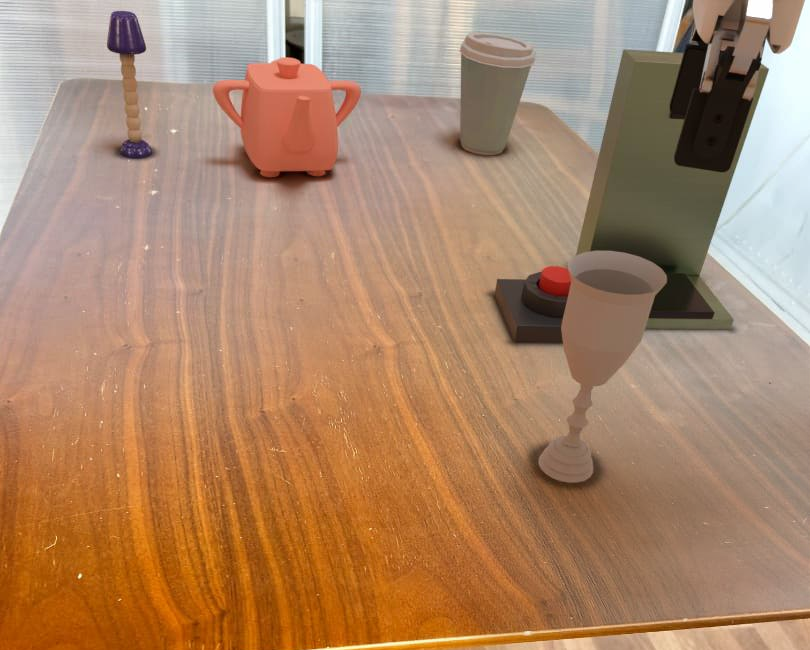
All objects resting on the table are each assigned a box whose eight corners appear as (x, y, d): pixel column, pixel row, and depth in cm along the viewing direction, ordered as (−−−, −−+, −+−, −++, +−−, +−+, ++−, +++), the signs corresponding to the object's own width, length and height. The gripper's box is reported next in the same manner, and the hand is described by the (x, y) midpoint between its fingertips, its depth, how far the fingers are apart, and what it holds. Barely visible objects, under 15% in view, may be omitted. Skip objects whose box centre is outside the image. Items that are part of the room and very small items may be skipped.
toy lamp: (127, 146, 120) (109, 6, 108) (161, 150, 120) (147, 10, 108) (115, 158, 116) (96, 15, 105) (150, 162, 116) (135, 20, 105)
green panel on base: (683, 271, 106) (752, 56, 90) (729, 331, 96) (816, 102, 80) (572, 269, 104) (623, 48, 88) (607, 330, 94) (672, 94, 78)
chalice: (585, 439, 79) (638, 247, 67) (621, 486, 74) (685, 290, 62) (510, 448, 77) (551, 253, 65) (542, 498, 72) (593, 298, 60)
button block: (580, 298, 99) (588, 264, 96) (606, 345, 91) (616, 310, 89) (493, 297, 97) (499, 263, 94) (513, 344, 90) (520, 309, 87)
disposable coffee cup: (465, 131, 136) (479, 21, 125) (530, 148, 133) (550, 37, 122) (436, 151, 128) (448, 36, 118) (504, 169, 125) (522, 53, 115)
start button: (567, 281, 93) (571, 266, 92) (576, 298, 91) (580, 282, 90) (534, 281, 93) (537, 265, 92) (543, 297, 90) (546, 281, 89)
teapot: (272, 137, 127) (270, 35, 118) (368, 163, 123) (374, 59, 114) (202, 171, 115) (194, 62, 107) (306, 202, 111) (306, 90, 102)
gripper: (928, -210, 36) (773, 202, 48) (852, -222, 49) (744, 107, 60) (743, -232, 37) (635, 180, 48) (716, -238, 49) (635, 90, 61)
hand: (696, 139), depth 54 cm, fingers open, 9 cm apart
